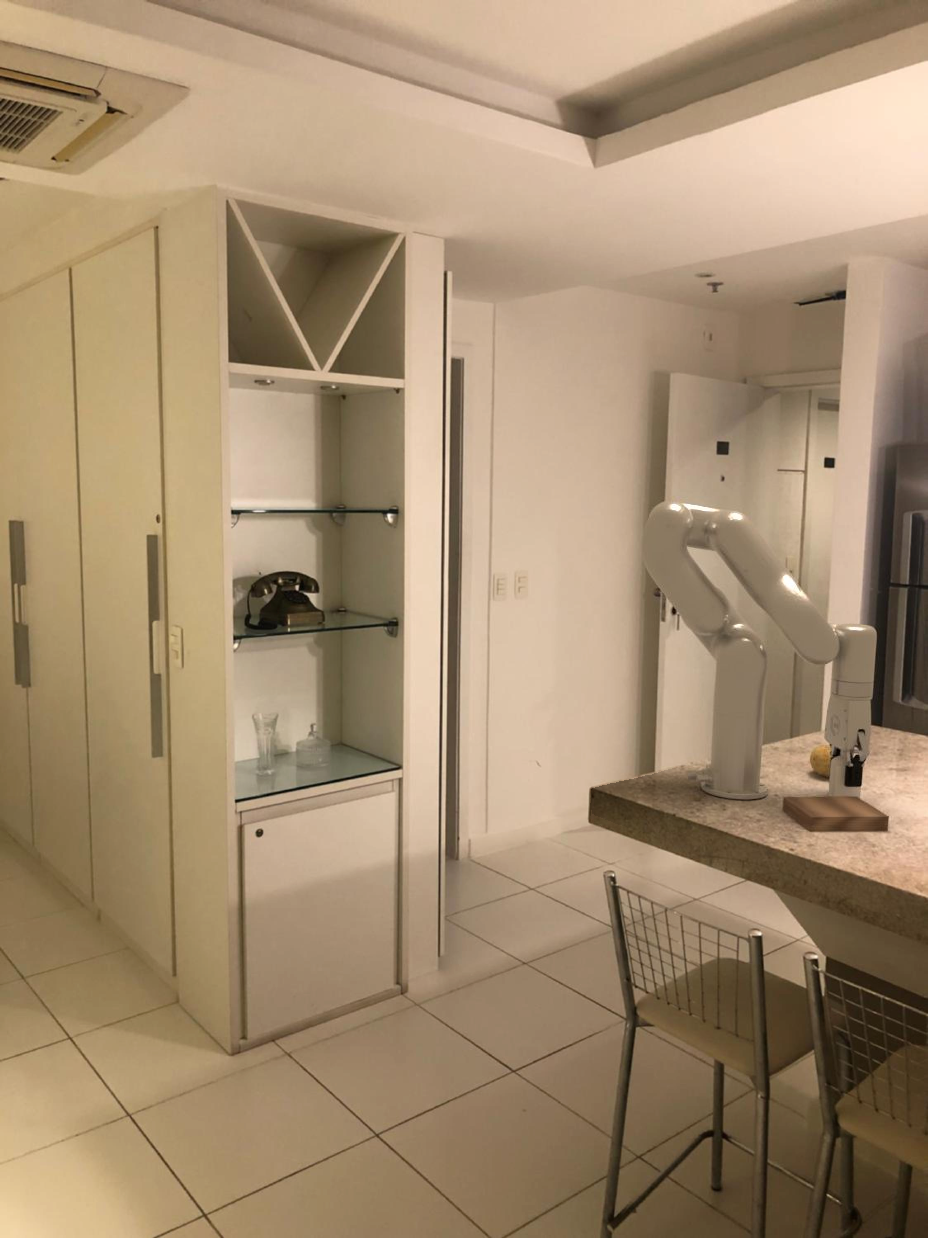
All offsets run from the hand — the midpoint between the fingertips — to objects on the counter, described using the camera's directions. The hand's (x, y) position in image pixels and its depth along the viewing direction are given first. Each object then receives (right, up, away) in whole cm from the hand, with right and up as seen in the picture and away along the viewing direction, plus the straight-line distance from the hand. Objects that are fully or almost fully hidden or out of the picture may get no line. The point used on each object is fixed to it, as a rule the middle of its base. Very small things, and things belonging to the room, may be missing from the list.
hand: (845, 781), depth 196 cm
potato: (+2, -2, +18) cm, 18 cm away
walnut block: (-7, -5, -13) cm, 16 cm away
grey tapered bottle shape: (0, -4, 0) cm, 4 cm away
